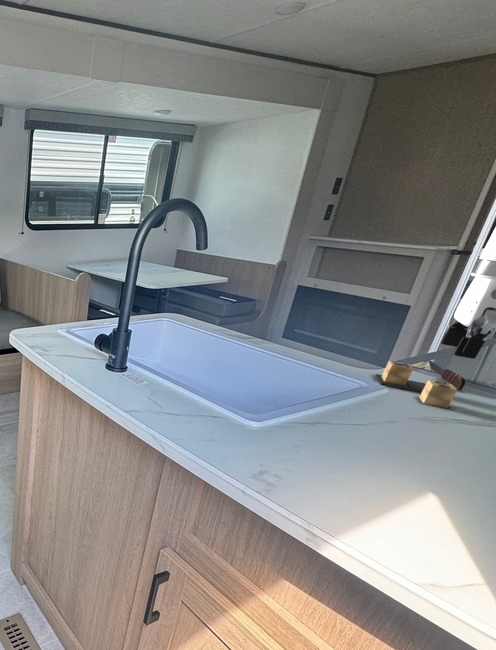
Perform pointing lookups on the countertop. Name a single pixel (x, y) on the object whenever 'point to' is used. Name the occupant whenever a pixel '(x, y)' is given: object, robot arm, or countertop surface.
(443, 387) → the tile
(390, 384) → the word mat
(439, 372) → the knife
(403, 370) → the wooden block
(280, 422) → the countertop surface
